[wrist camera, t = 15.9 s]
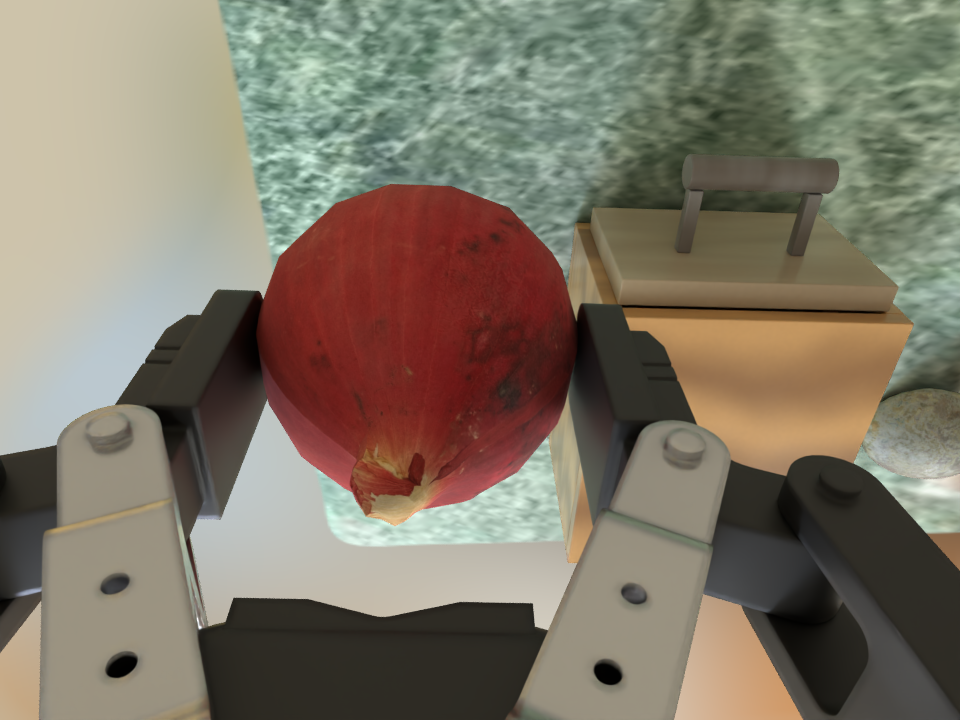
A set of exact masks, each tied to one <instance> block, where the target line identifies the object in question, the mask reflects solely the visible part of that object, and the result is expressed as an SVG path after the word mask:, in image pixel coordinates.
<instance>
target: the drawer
mask: <svg viewBox="0 0 960 720" xmlns="http://www.w3.org/2000/svg"><path fill="white" fill-rule="evenodd" d="M838 177H839V166H838V163H837V161H836V160H835V159H831V158H801V157H770V156H740V155H710V154H688V155H687V156H686V158H685V161H684V164H683V169H682V183H683V187H684V188H685V189H686V193H685V197H684V202H683V207H682V210H666V209H632V208H599V207H594V208H593V209H592V216H591V224H590V231H591V233H592V236H593V239H594V241H595V244H596V247H597V249H598V252H599V255H600V257H601V260H602V263H603V265H604V268H605V271H606V273H607V276H608V279H609V281H610V284H611V287H612V289H613V292H614V295H615V298H616V300H617V303H618V304H619V305H622V307H623V308H658V309H699V310H740V311H781V312H822V313H838V312H837V310H845V311H886V312H888V311H889V310H890V308H891V305H892V303H893V300H894V298H895V295H896V293H897V290H898V286H897V285H896V284H895V283H894V282H893V281H892V280H891V279H890V278H889V277H888V276H886V275H885V274H884V273H883V272H882V271H881V270H880V269H879V268H878V267H877V266H876V265H874V264H873V263H872V262H871V261H870V260H869V259H868V258H867V257H866V256H865V255H864V254H862V253H861V252H860V251H859V250H858V249H857V248H856V247H855V246H854V245H853V244H851V243H850V242H849V241H848V240H847V239H846V238H845V237H844V236H843V235H842V234H841V233H839V232H838V231H837V230H836V229H835V228H834V227H833V226H832V225H831V224H830V223H828V222H827V221H826V220H825V219H824V218H823V217H822V216H821V215H820V214H817V212H818V209H819V206H820V203H821V200H822V196H823V195H822V194H821V193H825V194H827V193H830V192H832V191H833V189H834V188H835V186H836V184H837V181H838ZM703 190H728V191H760V192H793V193H803V196H802V199H801V202H800V206H799V209H798V212H797V213H766V212H733V211H700V207H701V203H702V198H703V194H704V191H703Z"/></svg>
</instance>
